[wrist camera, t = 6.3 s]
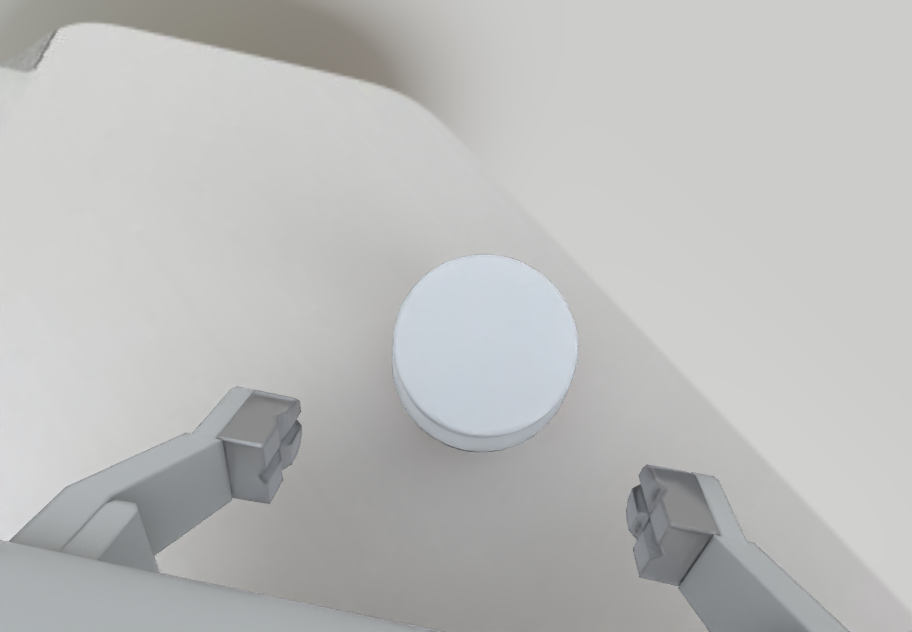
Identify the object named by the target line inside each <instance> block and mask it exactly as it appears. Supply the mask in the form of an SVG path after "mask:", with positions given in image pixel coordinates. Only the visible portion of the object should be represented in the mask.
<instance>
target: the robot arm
mask: <svg viewBox="0 0 912 632" xmlns="http://www.w3.org/2000/svg"><path fill="white" fill-rule="evenodd" d="M300 412H301V407H300V401H299V400H298V399H296V398H291V397H287V396H282V395H277V394H273V393H268V392H263V391H259V390H257V391H256V390H252V389H247V388H243V387H238V386H236V387H234V388H232V389H231V390H229V392H228V393H227V394H226V395H225V396H224V397H223V399H222V400H221V401H220V402H219V403H218V404H217V406H216V407H215V408H214V409H213V410H212V411H211V412H210V414H209V415H208V416H207V417H206V418H205V419H204V421H203V422H202V423H201V424H200V425H199V426H198V428H197V429H196V430H195V431H194V432H193V433H192V434H190V433H184V434H182V435H180V436H178V437H175V438H173V439H171V440H169V441H166V442H164V443H162V444H160V445H158V446H155V447H153V448H151V449H149V450H147V451H144V452H142V453H140V454H138V455H135V456H133V457H131V458H129V459H127V460H124V461H122V462H120V463H118V464H116V465H113V466H111V467H109V468H107V469H105V470H102V471H100V472H98V473H96V474H93V475H91V476H89V477H87V478H85V479H82V480H80V481H78V482H76V483H74V484H71V485H69V486H67V487H65V488H64V489H63V490H62V491H61V492H60V493H59V494H58V495H57V496H56V497H55V498H54V499H53V500H52V501H50V502H49V503H48V504H47V505H46V506H45V507H44V508H43V509H42V510H41V511H40V512H39V513H38V514H37V515H36V516H35V517H34V518H33V519H32V520H31V521H30V522H28V523H27V524H26V525H25V526H24V527H23V528H22V529H21V530H20V531H19V532H18V533H17V534H16V535H15V536H14V537H13V538H12V539H11V540H10V541H9V542H8V541H3V540H0V632H444V631H439V630H434V629H429V628H424V627H419V626H414V625H409V624H405V623H400V622H395V621H390V620H385V619H380V618H375V617H371V616H366V615H361V614H356V613H351V612H346V611H341V610H337V609H332V608H327V607H322V606H317V605H312V604H307V603H303V602H298V601H293V600H288V599H283V598H278V597H274V596H269V595H264V594H259V593H254V592H249V591H244V590H240V589H235V588H230V587H225V586H220V585H215V584H211V583H206V582H201V581H196V580H191V579H186V578H181V577H177V576H172V575H167V574H162V573H160V571H159V568H158V565H157V563H156V560H155V557H154V556H155V555H156V554H157V553H159V552H160V551H162V550H163V549H164V548H166V547H167V546H169V545H170V544H171V543H173V542H174V541H176V540H177V539H178V538H180V537H181V536H183V535H184V534H185V533H187V532H188V531H190V530H191V529H192V528H194V527H195V526H197V525H198V524H199V523H201V522H202V521H204V520H205V519H206V518H208V517H209V516H211V515H212V514H213V513H215V512H216V511H218V510H219V509H220V508H222V507H223V506H225V505H226V504H227V503H229V502H230V501H232V498H237V499H243V500H249V501H255V502H261V503H267V504H270V502H271V500H272V499H273V497H274V495H275V493H276V491H277V490H278V488H279V486H280V484H281V483H282V481H283V474H282V470H283V469H285V468H287V467H288V466H290V465H292V463H293V461H294V459H295V457H296V455H297V452H298V449H299V446H300V443H301V436H302V425H301V424H300V423H299V422H298V420H297V417H298V416H299V414H300ZM639 479H640V483H641V484H640V485H638V486H636V487H634V488H633V489H632V490H631V493H630V495H629V497H628V501H627V508H626V516H627V524H628V529H629V531H630V532H631V533H632V535H633V536H634V537H635V538H636V539H637V542H636V544H635V546H634V547H633V551H634V556H635V560H636V564H637V569H638V573H639V577H640V578H645V579H649V580H654V581H658V582H662V583H667V584H671V585H676V586H679V587H678V589H679V590H680V591H681V593H682V594H683V596H684V597H685V598H686V600H687V601H688V602H689V604H690V605H691V607H692V608H693V609H694V611H695V612H696V614H697V615H698V616H699V618H700V619H701V621H702V622H703V623H704V625H705V626H706V627H707V629H708V630H709V632H850V631H848V630H847V629H846V628H845V627H844V626H843V625H842V624H841V623H840V622H839V621H838V620H837V619H836V618H834V617H833V616H832V615H831V614H830V613H829V612H828V611H827V610H826V609H825V608H824V607H823V606H822V605H820V604H819V603H818V602H817V601H816V600H815V599H814V598H813V597H812V596H811V595H810V594H809V593H808V592H806V591H805V590H804V589H803V588H802V587H801V586H800V585H799V584H798V583H797V582H796V581H795V580H793V579H792V578H791V577H790V576H789V575H788V574H787V573H786V572H785V571H784V570H783V569H782V568H781V567H779V566H778V565H777V564H776V563H775V562H774V561H773V560H772V559H771V558H770V557H769V556H768V555H767V554H765V553H764V552H763V551H762V550H761V549H760V548H759V547H758V546H757V545H756V544H755V543H752V542H748V541H747V540H746V538H745V536H744V534H743V532H742V530H741V528H740V525H739V523H738V521H737V519H736V517H735V515H734V512H733V510H732V508H731V506H730V504H729V502H728V500H727V497H726V495H725V493H724V491H723V489H722V487H721V484H720V482H719V480H718V479H716V478H715V477H714V476H709V475H704V474H698V473H692V472H691V473H690V472H686V471H681V470H675V469H669V468H664V467H658V466H653V465H646V466H644V467H643V468H642V470H641V472H640V474H639Z"/></svg>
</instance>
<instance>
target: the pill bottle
mask: <svg viewBox="0 0 912 632" xmlns="http://www.w3.org/2000/svg"><path fill="white" fill-rule="evenodd" d="M577 357H578V336H577V330H576V325H575V321H574V318H573V315H572V313H571V310H570V308H569V306H568V304H567V302H566V300H565V299H564V297H563V296H562V294H561V293H560V292H559V290H558V289H557V288H556V287H555V286H554V285H553V283H552V282H551V281H550V280H548V279H547V278H546V277H545V276H544V275H543V274H542V273H540V272H539V271H537V270H536V269H534V268H533V267H531V266H529V265H527V264H524V263H522V262H520V261H518V260H516V259H513V258H508V257H504V256H499V255H492V254H478V255H469V256H463V257H460V258H456V259H453V260H450V261H448V262H445V263H443V264H441V265H440V266H438V267H436V268H435V269H433V270H431V271H430V272H429V273H427V274H426V275H425V276H424V277H423V278H422V279H421V280H420V281H419V282H418V283H417V284H416V285H415V286H414V287H413V288H412V289H411V291H410V292H409V294H408V295H407V297H406V298H405V300H404V302H403V304H402V306H401V308H400V310H399V312H398V316H397V319H396V323H395V326H394V335H393V352H392V371H393V378H394V383H395V386H396V389H397V392H398V395H399V397H400V399H401V401H402V403H403V405H404V407H405V409H406V410H407V412H408V413H409V415H410V416H411V417H412V419H413V420H414V421H415V423H416V424H417V425H418V426H419V427H420V428H421V429H422V430H424V431H425V432H426V433H427V434H429V435H430V436H431V437H433V438H434V439H436V440H438V441H440V442H442V443H444V444H445V445H448V446H450V447H454V448H457V449H460V450H464V451H471V452H490V451H498V450H503V449H507V448H510V447H513V446H515V445H518V444H520V443H522V442H524V441H526V440H528V439H530V438H531V437H533V436H534V435H535V434H537V433H538V432H539V431H540V430H542V429H543V428H544V427H545V426H546V425H547V424H548V423H549V422H550V420H551V419H552V418H553V417H554V416H555V414H556V413H557V411H558V410H559V408H560V406H561V404H562V402H563V400H564V398H565V396H566V393H567V390H568V387H569V385H570V384H571V381H572V378H573V375H574V372H575V368H576V364H577Z"/></svg>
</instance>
